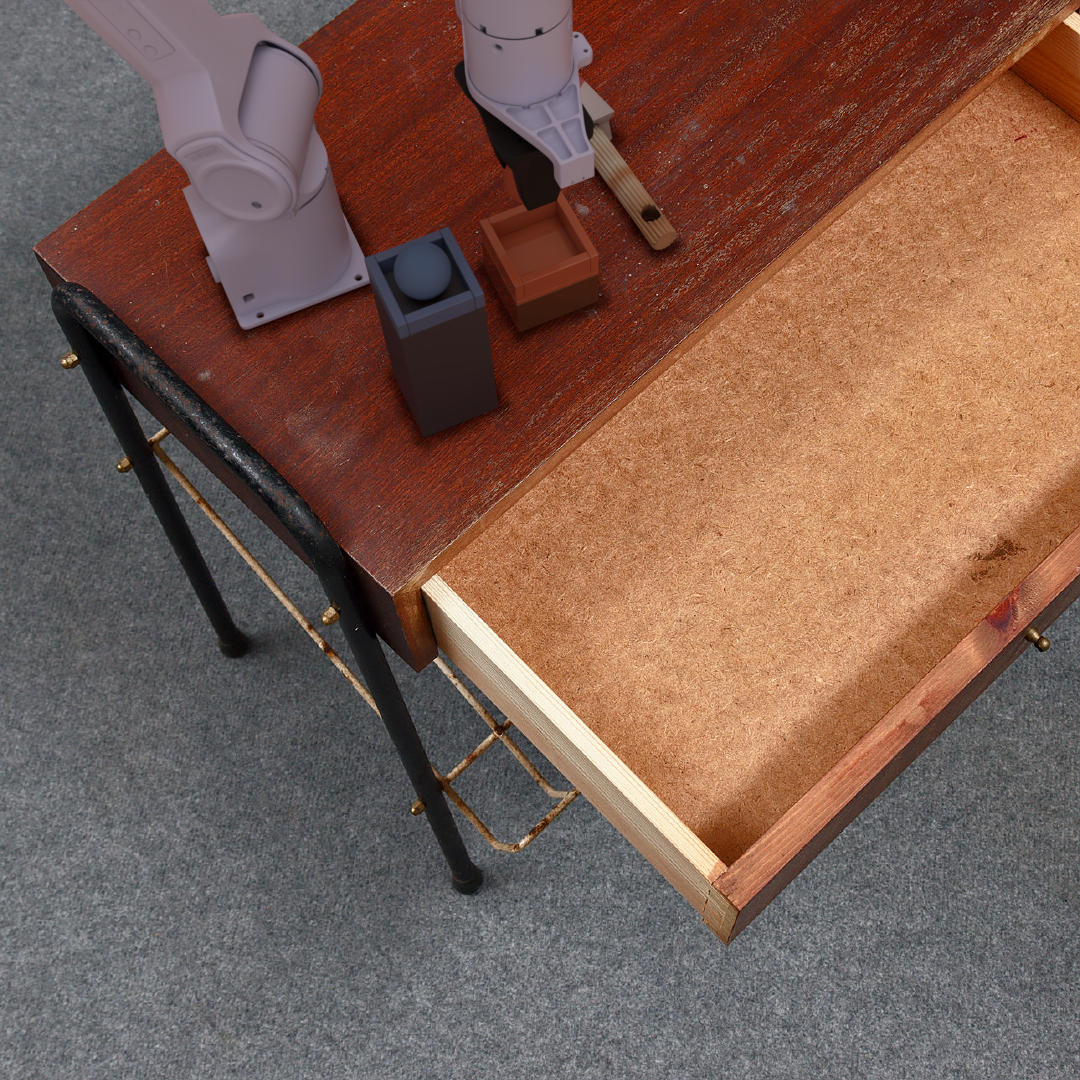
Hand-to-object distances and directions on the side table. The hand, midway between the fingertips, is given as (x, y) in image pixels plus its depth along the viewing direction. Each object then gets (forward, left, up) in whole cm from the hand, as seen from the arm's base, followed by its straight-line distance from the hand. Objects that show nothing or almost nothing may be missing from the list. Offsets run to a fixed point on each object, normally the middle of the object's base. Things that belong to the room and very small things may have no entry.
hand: (528, 181), depth 77 cm
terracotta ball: (0, 0, 0) cm, 0 cm away
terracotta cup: (0, -1, -9) cm, 9 cm away
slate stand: (-9, -6, -9) cm, 14 cm away
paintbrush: (+8, +8, -10) cm, 15 cm away
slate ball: (-9, -6, +3) cm, 11 cm away
